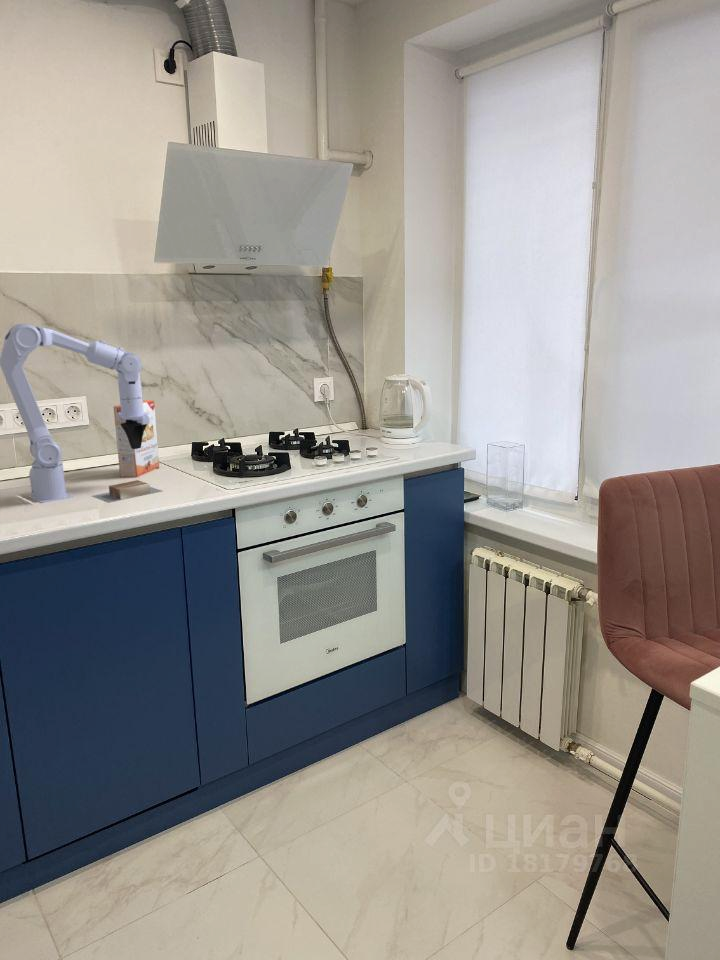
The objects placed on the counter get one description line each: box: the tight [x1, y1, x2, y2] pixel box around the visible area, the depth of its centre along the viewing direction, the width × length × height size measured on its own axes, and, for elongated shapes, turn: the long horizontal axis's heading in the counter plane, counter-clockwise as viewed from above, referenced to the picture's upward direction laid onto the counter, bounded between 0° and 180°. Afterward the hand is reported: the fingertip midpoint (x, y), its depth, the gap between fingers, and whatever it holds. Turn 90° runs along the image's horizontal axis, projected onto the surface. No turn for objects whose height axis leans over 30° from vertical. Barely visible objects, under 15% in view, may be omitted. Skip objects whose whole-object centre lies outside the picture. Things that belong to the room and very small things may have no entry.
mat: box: [92, 486, 163, 504], centre depth 187 cm, size 10×15×1 cm, turn 134°
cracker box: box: [113, 399, 160, 478], centre depth 210 cm, size 14×6×21 cm, turn 168°
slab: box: [108, 479, 151, 500], centre depth 186 cm, size 2×8×6 cm
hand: (136, 448), depth 194 cm, fingers closed
